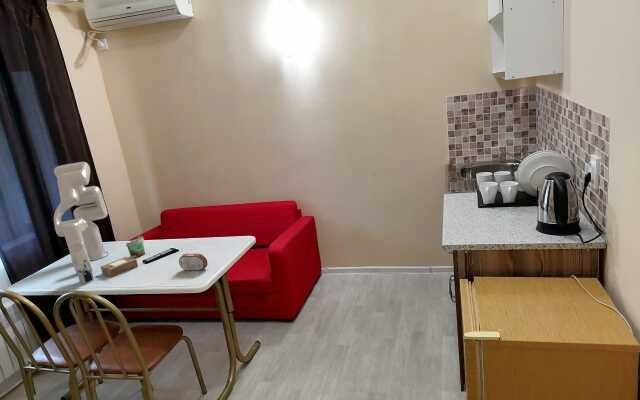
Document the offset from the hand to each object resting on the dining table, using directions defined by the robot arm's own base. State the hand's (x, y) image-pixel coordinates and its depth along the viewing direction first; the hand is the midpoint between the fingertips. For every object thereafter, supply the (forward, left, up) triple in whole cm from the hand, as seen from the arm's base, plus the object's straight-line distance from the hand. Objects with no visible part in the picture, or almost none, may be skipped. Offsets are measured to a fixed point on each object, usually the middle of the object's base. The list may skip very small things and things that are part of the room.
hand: (86, 279), depth 236 cm
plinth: (+4, +16, -1) cm, 17 cm away
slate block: (0, 0, -1) cm, 1 cm away
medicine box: (-17, +6, -1) cm, 18 cm away
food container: (-7, +34, -1) cm, 35 cm away
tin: (+49, +32, -1) cm, 59 cm away
